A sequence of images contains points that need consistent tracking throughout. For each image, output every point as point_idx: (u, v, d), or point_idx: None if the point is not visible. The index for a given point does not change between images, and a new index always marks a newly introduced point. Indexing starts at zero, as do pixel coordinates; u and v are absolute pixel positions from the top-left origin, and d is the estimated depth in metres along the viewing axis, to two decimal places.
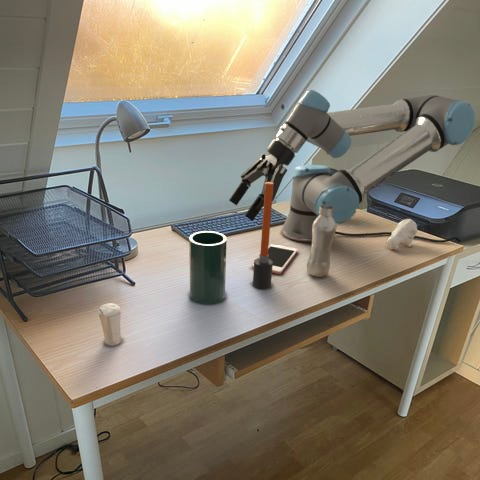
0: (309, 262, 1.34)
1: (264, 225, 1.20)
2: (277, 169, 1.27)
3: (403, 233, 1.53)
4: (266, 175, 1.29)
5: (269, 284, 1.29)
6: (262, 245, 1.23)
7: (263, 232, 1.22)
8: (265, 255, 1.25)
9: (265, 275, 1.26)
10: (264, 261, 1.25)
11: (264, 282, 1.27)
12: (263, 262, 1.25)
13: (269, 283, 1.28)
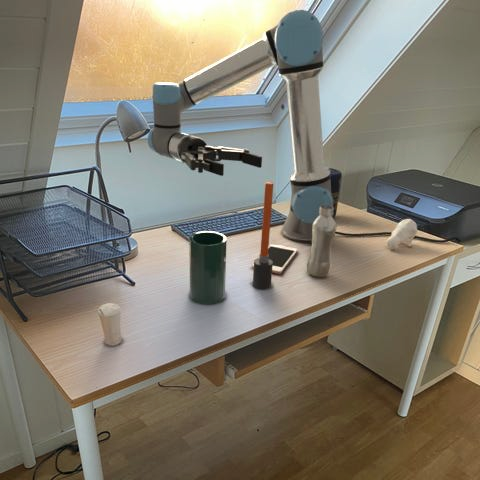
0: (309, 262, 1.34)
1: (264, 225, 1.20)
2: None
3: (403, 233, 1.53)
4: None
5: (269, 284, 1.29)
6: (262, 245, 1.23)
7: (263, 232, 1.22)
8: (265, 255, 1.25)
9: (265, 275, 1.26)
10: (264, 261, 1.25)
11: (264, 282, 1.27)
12: (263, 262, 1.25)
13: (269, 283, 1.28)
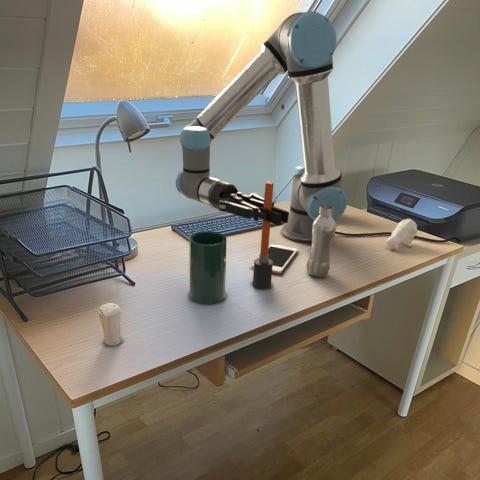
0: (309, 262, 1.34)
1: (264, 225, 1.20)
2: None
3: (403, 233, 1.53)
4: None
5: (270, 284, 1.29)
6: (262, 245, 1.23)
7: (263, 232, 1.22)
8: (265, 255, 1.25)
9: (265, 275, 1.26)
10: (264, 260, 1.25)
11: (264, 282, 1.27)
12: (263, 262, 1.25)
13: (269, 283, 1.28)
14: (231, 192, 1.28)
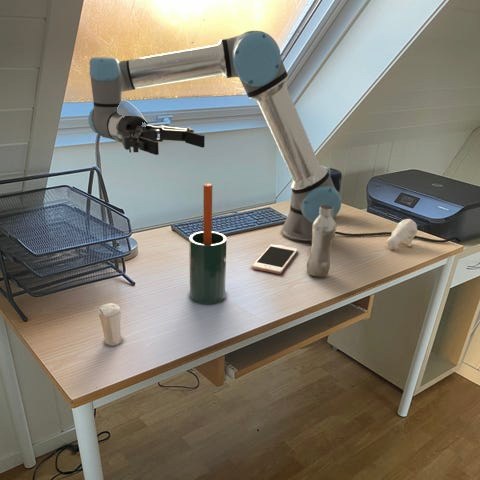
0: (309, 262, 1.34)
1: (205, 229, 1.14)
2: (122, 141, 1.16)
3: (403, 233, 1.53)
4: None
5: None
6: None
7: (204, 237, 1.15)
8: None
9: None
10: None
11: None
12: None
13: None
14: None
